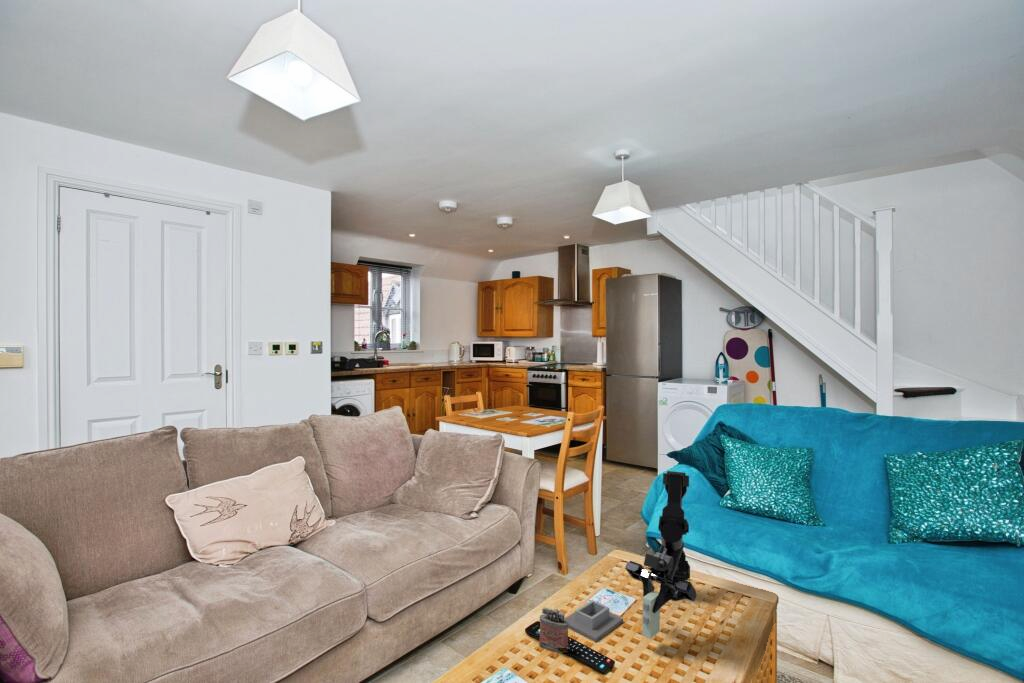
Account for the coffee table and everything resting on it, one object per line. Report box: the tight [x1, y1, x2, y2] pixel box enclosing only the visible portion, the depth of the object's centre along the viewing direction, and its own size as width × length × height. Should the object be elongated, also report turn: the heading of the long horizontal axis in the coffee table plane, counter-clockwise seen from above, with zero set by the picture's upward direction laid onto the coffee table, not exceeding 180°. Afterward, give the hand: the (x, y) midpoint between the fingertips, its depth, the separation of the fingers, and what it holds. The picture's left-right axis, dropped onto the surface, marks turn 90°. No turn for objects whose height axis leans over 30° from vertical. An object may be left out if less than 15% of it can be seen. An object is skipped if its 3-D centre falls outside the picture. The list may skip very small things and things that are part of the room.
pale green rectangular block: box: [641, 591, 661, 640], centre depth 131 cm, size 2×6×10 cm, turn 136°
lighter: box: [538, 606, 569, 654], centre depth 131 cm, size 8×3×10 cm, turn 65°
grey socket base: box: [564, 599, 624, 643], centre depth 143 cm, size 12×14×4 cm
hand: (648, 610), depth 130 cm, fingers closed on pale green rectangular block, 2 cm apart
